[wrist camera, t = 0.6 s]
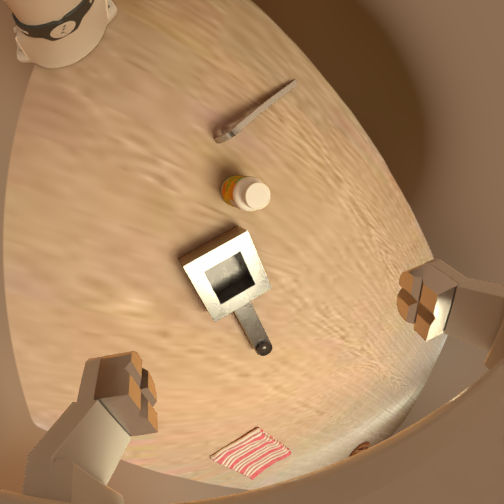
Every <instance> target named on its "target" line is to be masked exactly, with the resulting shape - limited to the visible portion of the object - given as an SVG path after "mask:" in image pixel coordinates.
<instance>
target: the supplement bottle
mask: <svg viewBox="0 0 504 504" xmlns="http://www.w3.org/2000/svg"><path fill="white" fill-rule="evenodd" d="M221 196H222V198H223V200H224V201H225V202H226V203H227V204H229V205H231V206H234V207H236V208H239V209H242V210H245V211H254V210H257V209H262V208H264V207H265V206H266V205H267V204H268V202H269V200H270V190H269V188H268V187H267V186H266V185H265V184H263V183H262V181H260V180H259V179H257V178H255V177H249V176H239V175H234V176H230V177H228V178H227V179H226V180H225V181H224V182H223V184H222V187H221Z"/></svg>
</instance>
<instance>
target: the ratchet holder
mask: <svg viewBox="0 0 504 504" xmlns="http://www.w3.org/2000/svg"><path fill="white" fill-rule="evenodd" d="M178 259H179V261H180V263H181V264H182V266H183V268H184V270H185V272H186V274H187V275H188V277H189V279H190V281H191V283H192V284H193V286H194V288H195V290H196V291H197V293H198V295H199V297H200V298H201V300H202V302H203V304H204V305H205V307H206V309H207V311H208V312H209V314H210V315H211V317H212V319H213V320H214V322H216V321H218V320H220V319H221V318H223V317H225V316H226V315H228V314H230V313H232V312H234V314H235V316H236V318H237V320H238V321H239V323H240V325H241V327H242V329H243V331H244V333H245V334H246V336H247V338H248V340H249V342H250V344H251V345H252V347H253V349H254V350H255V351H256V353H257V354H258V355H259V354H260V355H261V356H265V355H267V354H269V353H270V352H271V350H272V345H271V343H270V341H269V339H268V337H267V335H266V332H265V330H264V328H263V326H262V324H261V322H260V320H259V318H258V316H257V314H256V312H255V310H254V308H253V306H252V304H251V302H250V301H252V300H253V299H255V298H257V297H258V296H260V295H262V294H263V293H265V292H266V291H268V290H270V289H271V288H272V287H271V285H270V283H269V280H268V278H267V275H266V273H265V271H264V268H263V266H262V263H261V261H260V259H259V256H258V254H257V252H256V249H255V247H254V244H253V242H252V240H251V237H250V235H249V233H248V231H247V230H245V229H243V228H241V227H239V226H237V227H235V228H233V229H231V230H229V231H227V232H225V233H224V234H222V235H220V236H218V237H216V238H214V239H213V240H211V241H209V242H207V243H205V244H203V245H202V246H200V247H198V248H196V249H194V250H193V251H191V252H189V253H187V254H185V255H184V256H182V257H180V258H178Z"/></svg>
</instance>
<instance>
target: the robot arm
mask: <svg viewBox="0 0 504 504" xmlns="http://www.w3.org/2000/svg"><path fill="white" fill-rule="evenodd" d="M3 1H4V2H5V3H6V4H7V6H8V7H9V8H10V9H11V11H12V18H13V22H14V23H15V24H16V26H14V28H13V30H14V33H17V36H16V37H15V39H16V42H17V59H18V61H19V62H22V63H27V62H33V63H35V64H37V65H39V66H42V67H45V68H60V67H64V66H68V65H70V64H73V63H75V62H77V61H79V60H80V59H82V58H83V57H85V56H86V55H87V54H89V53H90V52H91V51H92V50H93V49H94V48H95V47H96V45H97V44H98V43H99V41H100V40H101V38H102V36H103V34H104V32H105V29H106V26H107V25H108V23H109V22H110V21H111V20H112V19H113V18H114V17H115V15H116V14H117V7H116V6H115V4H114V3H113V2H112V0H3ZM108 7H109V8H108ZM399 285H400V286H401V290H400V292H399V293H398V295H397V308H398V312H399V313H400V315H401V317H402V318H403V319H404V320H405V321H406V322H409V323H413V324H414V330H415V331H416V332H417V333H418V334H419V335H420V336H421V337H422V338H423V339H424V340H425V341H428V340H430V339H432V338H434V337H435V336H437V335H439V334H441V333H443V332H444V333H445V334H448V335H450V336H453V337H455V338H457V339H460V340H462V341H464V342H467V343H469V344H472V345H474V346H476V347H479V348H481V349H483V350H486V351H488V352H489V353H488V355H487V357H486V359H485V362H484V365H485V366H486V367H487V368H488V369H489V371H487V372H486V373H485V374H484V375H483V376H481V377H480V378H479V379H478V380H477V381H475V382H474V383H473V384H471V385H470V386H469V387H468V388H466V389H465V390H464V391H462V392H461V393H460V394H458V395H457V396H455V397H454V398H453V399H451V400H450V401H449V402H447V403H446V404H444V405H443V406H441V407H440V408H438V409H437V410H435V411H434V412H432V413H431V414H429V415H428V416H426V417H424V418H423V419H421V420H420V421H418V422H416V423H415V424H413V425H411V426H410V427H408V428H406V429H404V430H403V431H401V432H399V433H397V434H396V435H394V436H392V437H390V438H388V439H386V440H384V441H382V442H380V443H378V444H376V445H374V446H372V447H370V448H368V449H366V450H364V451H362V452H360V453H358V454H355V455H353V456H351V457H349V458H346V459H344V460H342V461H339V462H337V463H335V464H332V465H330V466H327V467H324V468H322V469H319V470H316V471H314V472H311V473H308V474H305V475H302V476H299V477H296V478H293V479H290V480H287V481H284V482H280V483H277V484H273V485H270V486H266V487H262V488H258V489H254V490H250V491H246V492H242V493H237V494H233V495H227V496H222V497H216V498H211V499H204V500H197V501H189V502H180V503H170V504H504V285H500V284H495V283H491V282H487V281H482V280H477V279H473V278H471V279H468V278H466V277H465V276H463V275H462V274H461V273H459V272H457V271H456V270H455V269H453V268H452V267H450V266H449V265H447V264H446V263H444V262H443V261H441V260H440V259H433V260H431V261H428V262H426V263H424V264H422V265H420V266H417V267H415V268H412V269H410V270H407V271H405V272H402V274H401V276H400V279H399ZM156 401H157V396H156V389H155V385H154V382H153V379H152V377H151V375H150V373H149V372H148V371H147V370H145V369H144V368H142V359H141V358H140V356H139V355H138V353H137V352H135V351H131V352H125V353H120V354H114V355H108V356H103V357H97V358H90V359H88V360H87V361H86V363H85V367H84V371H83V376H82V380H81V384H80V389H79V394H78V399H77V402H72V404H71V405H70V406H69V407H68V408H67V409H66V411H65V412H64V413H63V414H62V415H61V416H60V418H59V419H58V420H57V421H56V422H55V424H54V425H53V426H52V427H51V428H50V429H49V431H48V432H47V433H46V434H45V435H44V437H43V438H42V439H41V440H40V441H39V443H38V444H37V445H36V446H35V447H34V449H33V450H32V451H31V452H30V454H29V455H28V459H27V465H26V471H25V478H24V485H23V493H22V494H19V493H15V492H11V491H7V490H4V489H0V504H124V502H123V497H122V496H121V495H120V494H119V493H118V492H116V491H114V490H113V489H111V488H110V487H108V486H107V484H108V481H109V480H110V478H111V476H112V474H113V472H114V470H115V468H116V466H117V464H118V462H119V461H120V459H121V457H122V455H123V453H124V451H125V449H126V447H127V445H128V444H129V442H130V440H131V437H130V436H137V435H144V434H150V433H156V432H158V422H157V412H156V411H155V410H154V408H153V406H154V404H155V403H156Z"/></svg>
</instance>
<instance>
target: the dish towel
mask: <svg viewBox="0 0 504 504" xmlns="http://www.w3.org/2000/svg"><path fill="white" fill-rule="evenodd" d="M290 454H291V452H290V451H289V449H288V448H287V447H286V446H285V445H284V444H282V443H280V442H279V441H277V440H276V439H275V438H273V437H271V436H270V435H269V434H268V433H266V432H265V431H263V430H261V429H260V428H259V427H258V428H255V429H254V430H252V431H250V432H249V433H247V434H246V435H244V436H243V437H241V438H239V439H237V440H236V441H234V442H233V443H231V444H229V445H227V446H225V447H224V448H222V449H220V450H219V451H217V452H216V453H215V454H213V455H211V459H212V460H213V461H215V462H217V463H219V464H221V465H223V466H225V467H227V468H231V469H232V470H234V471H237V472H240V473H242V474H243V475H245V476H247V477H250V478H251V479H252V480H253V479H254V478H255V477H256V476H257V475H258V474H260V473H261V472H263V471H264V470H265V469H266V468H267V467H269V466H271V465H272V464H274V463H275V462H277V461H279V460H282V459H284V458H286V457H287V456H289V455H290Z"/></svg>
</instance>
